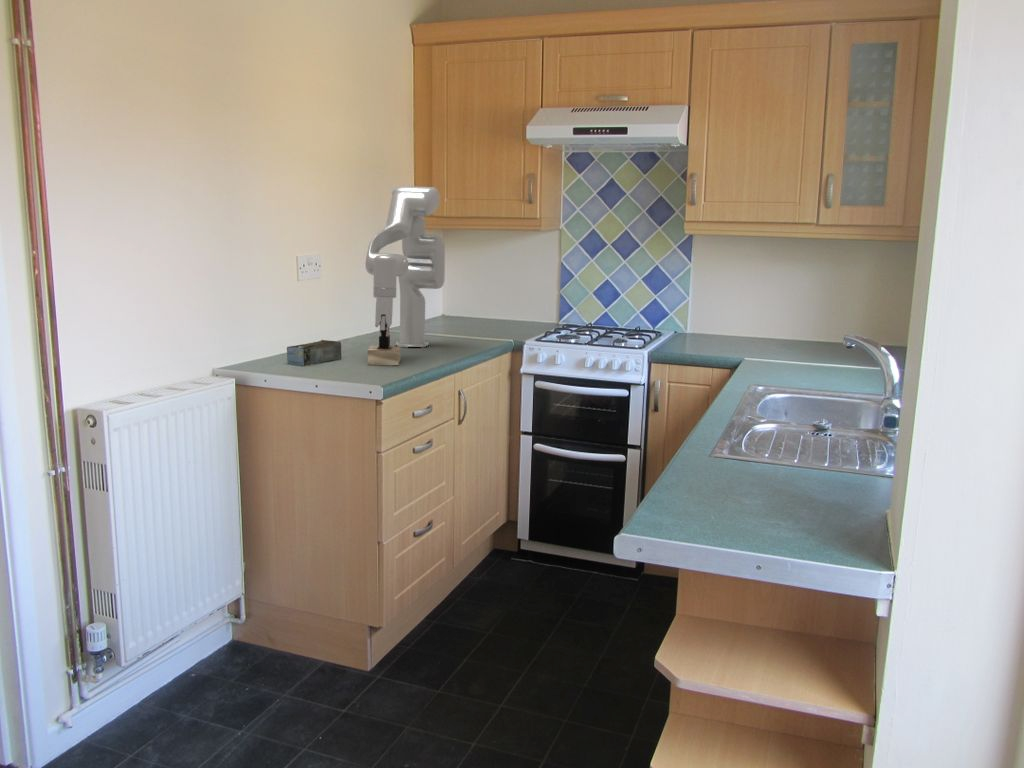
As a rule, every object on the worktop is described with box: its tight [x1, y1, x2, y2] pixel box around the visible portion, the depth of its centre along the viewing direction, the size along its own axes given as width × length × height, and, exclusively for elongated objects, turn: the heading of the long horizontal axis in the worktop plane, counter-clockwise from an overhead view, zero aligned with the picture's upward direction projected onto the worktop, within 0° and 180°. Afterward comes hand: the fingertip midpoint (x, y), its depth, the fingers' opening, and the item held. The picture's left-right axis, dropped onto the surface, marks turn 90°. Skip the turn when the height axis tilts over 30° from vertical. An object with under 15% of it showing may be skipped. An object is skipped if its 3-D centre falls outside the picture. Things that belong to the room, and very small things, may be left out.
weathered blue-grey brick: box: [286, 339, 342, 367], centre depth 288 cm, size 8×19×7 cm, turn 151°
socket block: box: [367, 345, 401, 366], centre depth 290 cm, size 10×10×5 cm
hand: (384, 347), depth 289 cm, fingers closed on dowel, 3 cm apart
